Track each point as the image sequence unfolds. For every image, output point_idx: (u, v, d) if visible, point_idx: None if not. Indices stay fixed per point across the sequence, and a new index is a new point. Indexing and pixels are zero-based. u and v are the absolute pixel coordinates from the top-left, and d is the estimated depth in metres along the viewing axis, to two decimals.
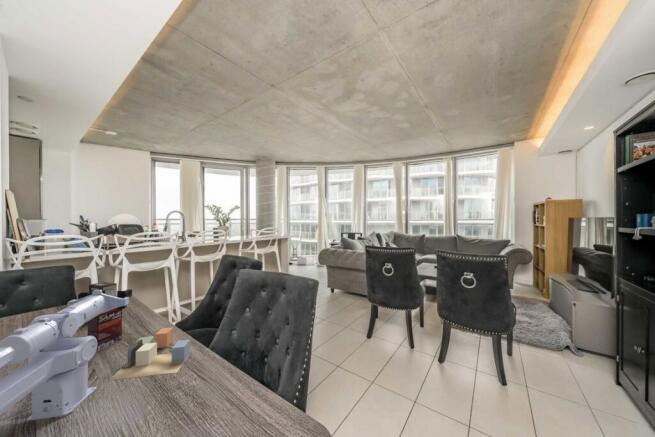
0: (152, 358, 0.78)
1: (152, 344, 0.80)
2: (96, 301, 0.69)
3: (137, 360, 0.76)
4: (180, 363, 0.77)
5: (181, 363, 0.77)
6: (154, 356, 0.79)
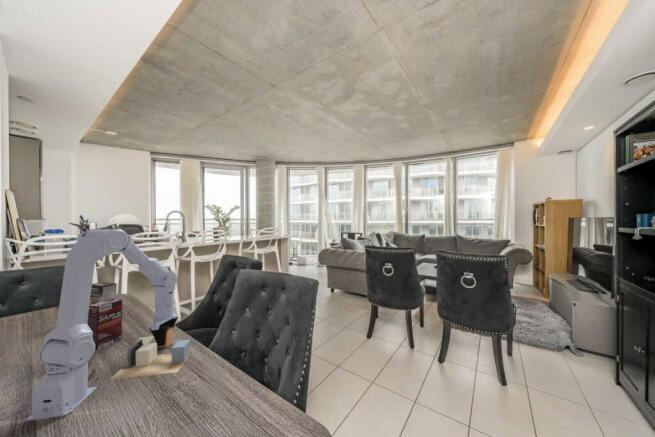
0: (152, 358, 0.78)
1: (152, 344, 0.80)
2: (167, 308, 0.88)
3: (137, 360, 0.76)
4: (180, 363, 0.77)
5: (181, 363, 0.77)
6: (154, 356, 0.79)
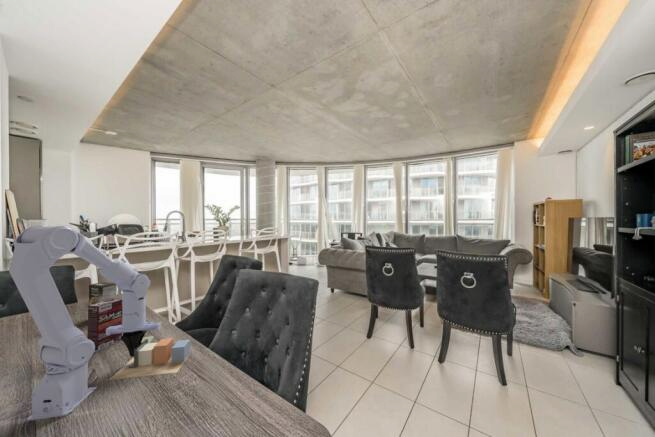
0: None
1: (154, 344, 0.80)
2: None
3: (139, 360, 0.76)
4: (180, 363, 0.77)
5: (181, 363, 0.77)
6: None
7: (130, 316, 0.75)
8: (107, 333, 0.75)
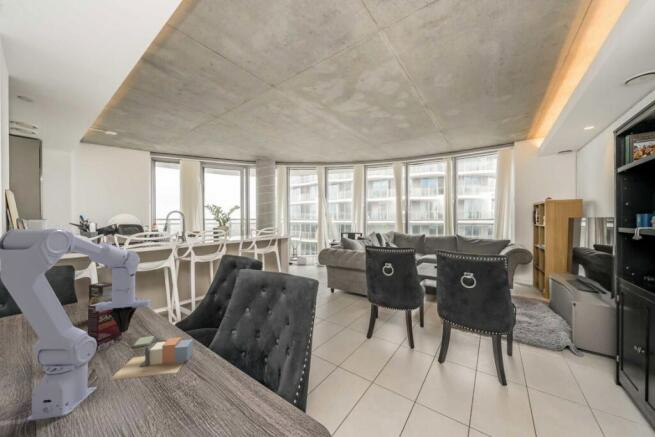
0: None
1: None
2: None
3: (151, 359, 0.76)
4: (180, 363, 0.77)
5: (181, 363, 0.77)
6: None
7: (119, 292, 0.76)
8: (97, 309, 0.77)
